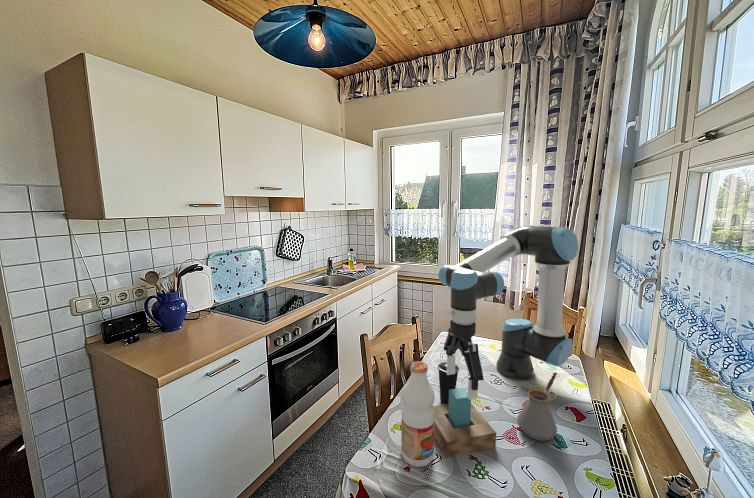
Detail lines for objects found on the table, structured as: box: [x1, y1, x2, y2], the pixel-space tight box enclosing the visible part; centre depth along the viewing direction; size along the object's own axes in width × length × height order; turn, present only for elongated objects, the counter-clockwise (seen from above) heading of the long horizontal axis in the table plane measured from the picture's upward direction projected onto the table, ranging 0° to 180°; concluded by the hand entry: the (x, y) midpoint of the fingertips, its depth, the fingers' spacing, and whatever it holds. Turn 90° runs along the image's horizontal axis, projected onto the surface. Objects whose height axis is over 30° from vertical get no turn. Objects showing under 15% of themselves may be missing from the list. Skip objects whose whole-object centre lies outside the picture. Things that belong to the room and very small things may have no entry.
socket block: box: [433, 403, 497, 458], centre depth 99 cm, size 16×16×5 cm
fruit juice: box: [400, 360, 435, 468], centre depth 89 cm, size 9×9×28 cm
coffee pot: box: [516, 371, 560, 442], centre depth 102 cm, size 21×12×15 cm, turn 132°
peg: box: [448, 387, 472, 429], centre depth 98 cm, size 5×5×14 cm
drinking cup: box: [437, 361, 460, 405], centre depth 114 cm, size 8×8×20 cm
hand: (460, 385), depth 97 cm, fingers open, 13 cm apart
